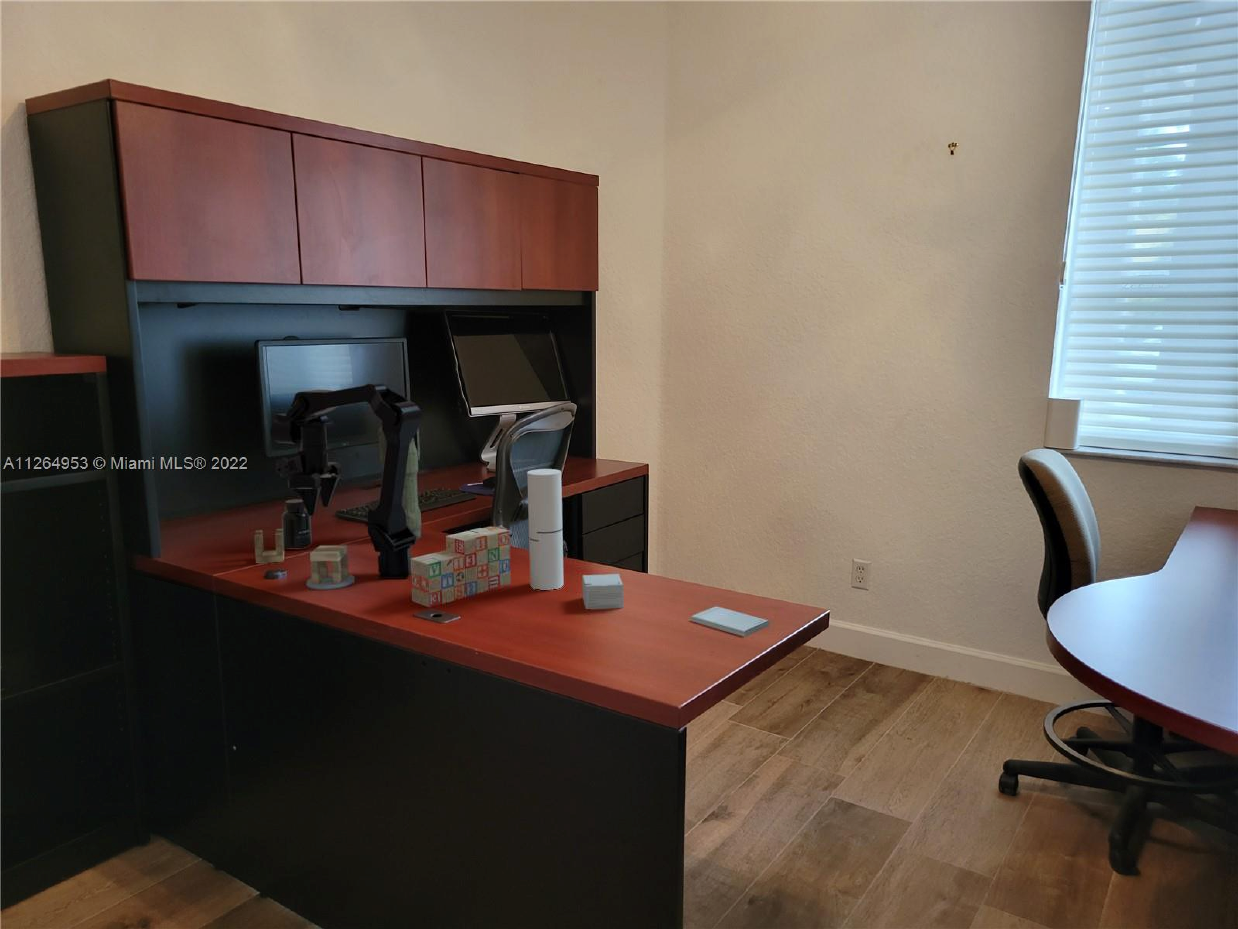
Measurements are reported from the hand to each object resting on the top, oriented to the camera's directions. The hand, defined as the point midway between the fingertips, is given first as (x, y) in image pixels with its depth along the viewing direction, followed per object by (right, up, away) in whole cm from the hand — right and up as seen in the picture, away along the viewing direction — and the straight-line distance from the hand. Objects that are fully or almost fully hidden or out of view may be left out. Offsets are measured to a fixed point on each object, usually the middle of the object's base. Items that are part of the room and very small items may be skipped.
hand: (318, 511), depth 207 cm
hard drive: (+91, -20, -39) cm, 101 cm away
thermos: (+13, -9, +27) cm, 31 cm away
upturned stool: (-14, -12, +7) cm, 20 cm away
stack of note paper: (+67, -18, -27) cm, 74 cm away
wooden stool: (+7, -15, -12) cm, 20 cm away
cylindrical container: (+55, -16, -15) cm, 59 cm away
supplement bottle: (-11, -10, +18) cm, 24 cm away
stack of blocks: (+37, -17, -19) cm, 45 cm away
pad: (+7, -15, -12) cm, 20 cm away
